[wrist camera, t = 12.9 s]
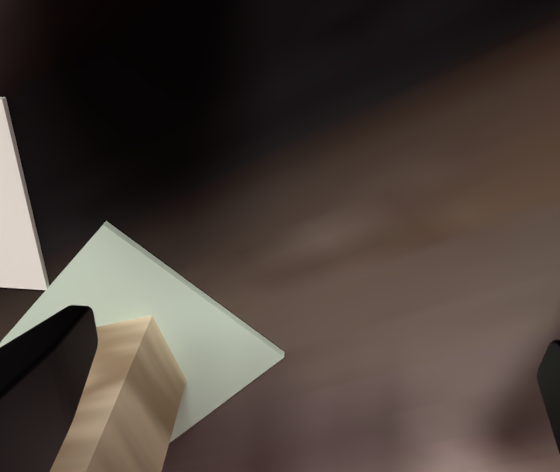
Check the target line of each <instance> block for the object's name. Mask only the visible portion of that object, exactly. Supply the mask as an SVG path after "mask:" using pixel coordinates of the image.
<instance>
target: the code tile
mask: <svg viewBox="0 0 560 472" xmlns="http://www.w3.org/2000/svg"><path fill="white" fill-rule="evenodd" d="M0 287H4V288H19V289H34V290H47V289H48V287H49V281H48V277H47V273H46V268H45V264H44V260H43V255H42V251H41V247H40V242H39V238H38V234H37V229H36V225H35V221H34V217H33V212H32V208H31V204H30V199H29V195H28V191H27V186H26V182H25V178H24V173H23V169H22V165H21V161H20V156H19V152H18V148H17V143H16V139H15V135H14V130H13V126H12V122H11V117H10V113H9V109H8V105H7V100H6V97H0Z"/></svg>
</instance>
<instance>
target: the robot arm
mask: <svg viewBox="0 0 560 472" xmlns="http://www.w3.org/2000/svg"><path fill="white" fill-rule="evenodd" d="M97 347H98V335H97V329H96V324H95V318H94V313H93V310H92V308H91V307H89V306H80V305H70V306H67V307H65V308H64V309H62V310H60V311H59V312H57V313H56V314H54V315H52V316H51V317H49V318H47V319H46V320H44V321H42V322H41V323H39V324H38V325H36V326H34V327H33V328H31V329H29V330H28V331H26V332H24V333H23V334H21V335H20V336H18V337H16V338H15V339H13V340H11V341H10V342H8V343H7V344H5V345H3V346H2V347H0V472H50V470H51V468H52V466H53V464H54V461H55V459H56V457H57V455H58V453H59V451H60V448H61V446H62V444H63V442H64V440H65V438H66V436H67V433H68V431H69V429H70V426H71V424H72V422H73V419H74V417H75V414H76V411H77V408H78V405H79V402H80V399H81V396H82V393H83V390H84V387H85V384H86V381H87V378H88V375H89V372H90V369H91V366H92V363H93V360H94V357H95V354H96V351H97ZM537 379H538V384H539V388H540V391H541V394H542V397H543V401H544V404H545V407H546V411H547V414H548V417H549V421H550V424H551V427H552V431H553V434H554V437H555V441H556V444H557V447H558V450H559V453H560V340H553V341H552V342H551V343H550V344H549V346H548V348H547V351H546V353H545V355H544V357H543V359H542V362H541V364H540V366H539V368H538V373H537Z"/></svg>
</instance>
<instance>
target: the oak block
mask: <svg viewBox="0 0 560 472" xmlns="http://www.w3.org/2000/svg"><path fill="white" fill-rule="evenodd" d="M96 329H97V335H98V347H97V351H96V354H95V357H94V360H93V363H92V366H91V369H90V372H89V375H88V378H87V381H86V384H85V387H84V390H83V393H82V396H81V399H80V402H79V405H78V408H77V411H76V414H75V417H74V419H73V422H72V424H71V426H70V429H69V431H68V433H67V436H66V438H65V440H64V442H63V444H62V446H61V448H60V451H59V453H58V455H57V457H56V459H55V461H54V464H53V466H52V468H51V470H50V472H161V471H162V468H163V464H164V461H165V457H166V453H167V450H168V446H169V442H170V439H171V435H172V431H173V428H174V424H175V421H176V417H177V413H178V410H179V406H180V402H181V399H182V395H183V392H184V388H185V384H186V381H187V380H186V378H185V376H184V374H183V373H182V371H181V369H180V367H179V365H178V363H177V361H176V359H175V358H174V356H173V354H172V352H171V350H170V348H169V346H168V344H167V342H166V341H165V339H164V337H163V335H162V333H161V331H160V329H159V327H158V326H157V324H156V322H155V320H154V318H153V316H152V315H151V316H147V317H142V318H137V319H132V320H128V321H123V322H118V323H113V324H109V325H104V326H99V327H96Z"/></svg>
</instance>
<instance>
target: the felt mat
mask: <svg viewBox="0 0 560 472" xmlns="http://www.w3.org/2000/svg"><path fill="white" fill-rule="evenodd" d="M70 305H80V306H89V307H91V308H92V310H93V313H94V318H95V324H96V327H99V326H104V325H109V324H113V323H118V322H123V321H128V320H132V319H137V318H142V317H147V316H151V315H152V316H153V318H154V320H155V322H156V324H157V326H158V327H159V329H160V331H161V333H162V335H163V337H164V339H165V341H166V342H167V344H168V346H169V348H170V350H171V352H172V354H173V356H174V358H175V359H176V361H177V363H178V365H179V367H180V369H181V371H182V373H183V374H184V376H185V378H186V380H187V381H186V384H185V388H184V392H183V395H182V399H181V402H180V406H179V410H178V413H177V417H176V421H175V424H174V428H173V431H172V435H171V439H170V442H172V441H173V440H174V439H176V438H177V437H178V436H180V435H181V434H182V433H184V432H185V431H186V430H188V429H189V428H190V427H192V426H193V425H194V424H196V423H197V422H198V421H200V420H201V419H202V418H204V417H205V416H206V415H208V414H209V413H210V412H212V411H213V410H215V409H216V408H217V407H219V406H220V405H221V404H223V403H224V402H225V401H227V400H228V399H229V398H231V397H232V396H233V395H235V394H236V393H237V392H239V391H240V390H241V389H243V388H244V387H245V386H247V385H248V384H249V383H251V382H252V381H253V380H255V379H256V378H257V377H259V376H260V375H261V374H263V373H264V372H265V371H267V370H268V369H269V368H271V367H272V366H273V365H275V364H276V363H277V362H279V361H280V360H281V359H283V358H284V351H282V350H281V349H279V348H278V347H277V346H275V345H274V344H273V343H271V342H270V341H269V340H267V339H266V338H265V337H263V336H262V335H260V334H259V333H258V332H256V331H255V330H254V329H252V328H251V327H250V326H248V325H247V324H246V323H244V322H243V321H241V320H240V319H239V318H237V317H236V316H235V315H233V314H232V313H231V312H229V311H228V310H227V309H225V308H224V307H222V306H221V305H220V304H218V303H217V302H216V301H214V300H213V299H212V298H210V297H209V296H208V295H206V294H205V293H204V292H202V291H201V290H199V289H198V288H197V287H195V286H194V285H193V284H191V283H190V282H189V281H187V280H186V279H185V278H183V277H182V276H180V275H179V274H178V273H176V272H175V271H174V270H172V269H171V268H170V267H168V266H167V265H166V264H164V263H163V262H161V261H160V260H159V259H157V258H156V257H155V256H153V255H152V254H151V253H149V252H148V251H147V250H145V249H144V248H143V247H141V246H140V245H138V244H137V243H136V242H134V241H133V240H132V239H130V238H129V237H128V236H126V235H125V234H124V233H122V232H121V231H119V230H118V229H117V228H115V227H114V226H113V225H111V224H110V223H109V222H107V221H106V222H105V223H104V224H103V225H102V226H101V227H100V229H99V230H98V231H97V232H96V233H95V234H94V235H93V237H92V238H91V239H90V240H89V241H88V242H87V243H86V245H85V246H84V247H83V248H82V249H81V250H80V252H79V253H78V254H77V255H76V256H75V257H74V258H73V260H72V261H71V262H70V263H69V264H68V265H67V266H66V268H65V269H64V270H63V271H62V272H61V273H60V274H59V276H58V277H57V278H56V279H55V280H54V281H53V283H52V284H51V285H50V286H49V287H48V289H47V290H46V291H45V292H44V293H43V294H42V295H41V296H40V297H39V299H38V300H37V301H36V302H35V303H34V304H33V305H32V307H31V308H30V309H29V310H28V311H27V312H26V314H25V315H24V316H23V317H22V318H21V319H20V320H19V322H18V323H17V324H16V325H15V326H14V327H13V328H12V330H11V331H10V332H9V333H8V334H7V335H6V337H5V338H4V339H3V340H2V341H1V342H0V347H2V346H3V345H5V344H7V343H8V342H10V341H11V340H13V339H15V338H16V337H18V336H20V335H21V334H23V333H24V332H26V331H28V330H29V329H31V328H33V327H34V326H36V325H38V324H39V323H41V322H42V321H44V320H46V319H47V318H49V317H51V316H52V315H54V314H56V313H57V312H59V311H60V310H62V309H64V308H65V307H67V306H70ZM170 442H169V443H170Z"/></svg>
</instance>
